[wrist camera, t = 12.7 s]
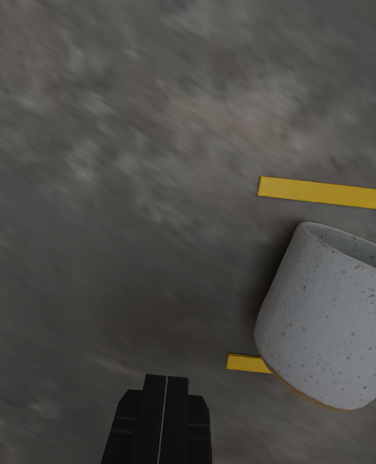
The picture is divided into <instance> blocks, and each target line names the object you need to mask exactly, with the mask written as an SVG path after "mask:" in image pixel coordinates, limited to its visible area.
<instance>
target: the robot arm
mask: <svg viewBox="0 0 376 464" xmlns="http://www.w3.org/2000/svg"><path fill="white" fill-rule="evenodd" d="M165 385H166V376H162V375H152V374H146V377H145V382H144V387H143V391H141V390H131V389H129V390H128V391H127V392H126V393H125V395H124V396H123V397H122V398H121V400H120V401H119V403H118V406H117V410H116V413H115V417H114V420H113V423H112V427H111V430H110V434H109V437H108V441H107V444H106V447H105V451H104V454H103V458H102V461H101V464H157V459H158V450H159V441H160V432H161V423H162V414H163V404H164V395H165ZM159 464H212V449H211V433H210V417H209V409H208V407H207V405H206V403H205V401H204V399H203V397H202V396H194V395H188V378H184V377H173V376H168V383H167V392H166V402H165V411H164V421H163V430H162V439H161V449H160V458H159Z"/></svg>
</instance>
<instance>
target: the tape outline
mask: <svg viewBox="0 0 376 464" xmlns="http://www.w3.org/2000/svg"><path fill="white" fill-rule="evenodd" d="M257 195H258V196H266V197H274V198H283V199H292V200H301V201H310V202H318V203H327V204H336V205H345V206H354V207H362V208H371V209H376V189H372V188H363V187H354V186H345V185H337V184H328V183H319V182H310V181H302V180H293V179H284V178H275V177H267V176H260V180H259V186H258V191H257ZM226 368H227V369H235V370H244V371H254V372H263V373H271V372H270V371H269V369H268V368H267V367H266V365H265V364H264V362H263V360H262V359H261V357H260V356H251V355H242V354H233V353H228V357H227V363H226Z"/></svg>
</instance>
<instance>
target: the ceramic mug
mask: <svg viewBox="0 0 376 464" xmlns="http://www.w3.org/2000/svg"><path fill="white" fill-rule="evenodd" d="M254 341H255V345H256V348H257V351H258V353H259V356H260V357H261V359H262V360H263V362H264V364H265V365H266V367H267V368H268V369H269V371H270V372H271V373H272V374H273V375H274V376H275V377H276V378H277V379H278V380H279V381H280V382H281V383H282V384H283V385H284V386H285V387H287V388H288V389H290V390H291V391H292V392H294V393H295V394H296V395H298V396H299V397H301V398H302V399H303V400H305V401H308V402H310V403H312V404H314V405H316V406H319V407H322V408H325V409H328V410H333V411H337V412H352V411H355V410H358V409H361V408H362V407H364V406H365V405H367V404H368V403H369V402H371V401H372V400H373V399H375V398H376V244H375V243H373V242H371V241H368V240H366V239H364V238H361V237H358V236H355V235H352V234H350V233H348V232H345V231H343V230H340V229H336V228H333V227H330V226H327V225H322V224H320V223H314V222H302V223H300V224H299V225H298V226H297V228H296V230H295V232H294V235H293V237H292V240H291V242H290V244H289V246H288V248H287V251H286V253H285V255H284V257H283V259H282V261H281V264H280V266H279V268H278V271H277V273H276V275H275V278H274V280H273V282H272V285H271V287H270V289H269V292H268V294H267V296H266V297H265V299H264V301H263V304H262V306H261V309H260V311H259V314H258V317H257V321H256V325H255V330H254Z"/></svg>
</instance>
